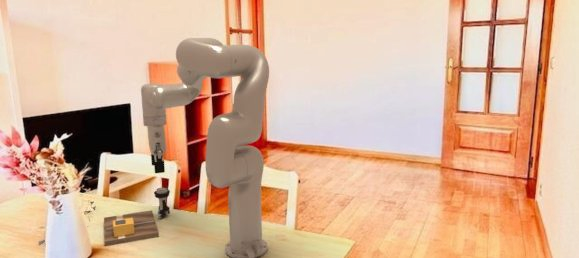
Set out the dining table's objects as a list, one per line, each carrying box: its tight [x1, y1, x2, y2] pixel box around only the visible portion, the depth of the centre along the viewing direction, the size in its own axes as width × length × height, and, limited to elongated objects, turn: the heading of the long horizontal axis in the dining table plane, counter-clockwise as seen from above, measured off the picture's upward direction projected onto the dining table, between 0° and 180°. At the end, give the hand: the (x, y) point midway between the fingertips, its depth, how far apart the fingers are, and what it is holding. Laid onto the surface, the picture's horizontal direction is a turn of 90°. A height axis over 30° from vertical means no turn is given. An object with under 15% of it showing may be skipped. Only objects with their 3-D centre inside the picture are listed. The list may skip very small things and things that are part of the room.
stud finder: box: [113, 218, 135, 237], centre depth 138 cm, size 5×6×4 cm
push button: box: [153, 187, 171, 220], centre depth 154 cm, size 7×5×10 cm
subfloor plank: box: [103, 209, 160, 247], centre depth 145 cm, size 20×16×2 cm
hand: (158, 168), depth 152 cm, fingers open, 9 cm apart
